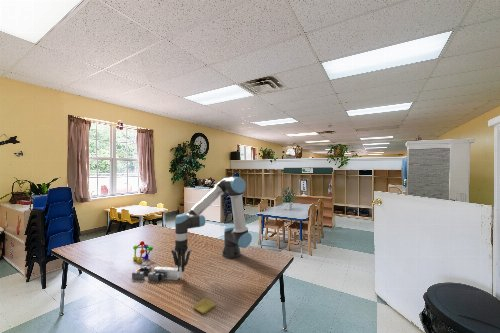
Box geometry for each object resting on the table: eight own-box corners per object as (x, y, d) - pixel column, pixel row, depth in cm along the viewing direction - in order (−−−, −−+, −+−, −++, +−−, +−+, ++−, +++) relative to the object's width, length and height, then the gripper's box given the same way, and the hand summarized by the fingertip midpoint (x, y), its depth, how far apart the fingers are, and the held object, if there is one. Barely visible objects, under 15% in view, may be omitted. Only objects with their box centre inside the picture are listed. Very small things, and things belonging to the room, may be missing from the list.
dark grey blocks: (171, 274, 146) (171, 267, 146) (162, 281, 136) (162, 274, 136) (142, 272, 149) (142, 265, 149) (132, 279, 139) (132, 271, 139)
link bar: (179, 277, 142) (179, 268, 142) (177, 280, 138) (177, 270, 138) (156, 275, 144) (156, 266, 144) (153, 278, 141) (153, 268, 141)
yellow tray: (202, 316, 104) (202, 312, 104) (191, 309, 110) (191, 305, 110) (216, 308, 110) (216, 303, 111) (205, 301, 116) (205, 297, 116)
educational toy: (155, 260, 172) (156, 241, 172) (140, 266, 161) (141, 246, 161) (143, 254, 180) (144, 236, 179) (127, 260, 169) (128, 240, 168)
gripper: (193, 237, 143) (193, 274, 142) (174, 237, 145) (174, 273, 144) (188, 241, 135) (188, 280, 135) (168, 240, 137) (168, 278, 137)
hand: (181, 276), depth 139 cm, fingers closed
